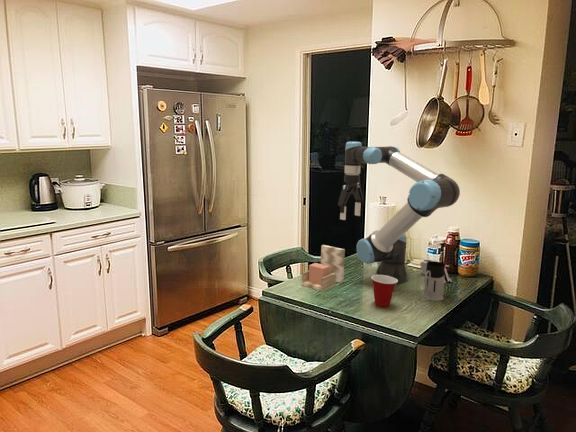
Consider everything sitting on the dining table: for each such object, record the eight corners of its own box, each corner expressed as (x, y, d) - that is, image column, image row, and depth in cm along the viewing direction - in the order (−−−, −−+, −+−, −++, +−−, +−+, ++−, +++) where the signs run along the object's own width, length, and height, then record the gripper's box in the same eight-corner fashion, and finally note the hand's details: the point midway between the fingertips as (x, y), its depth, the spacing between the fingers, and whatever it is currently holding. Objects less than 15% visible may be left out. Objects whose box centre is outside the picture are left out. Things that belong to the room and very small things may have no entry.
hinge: (452, 282, 222) (448, 264, 219) (444, 286, 221) (440, 268, 218) (429, 272, 237) (425, 255, 234) (421, 276, 236) (417, 258, 233)
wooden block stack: (343, 281, 220) (344, 249, 217) (323, 291, 207) (324, 256, 204) (322, 276, 228) (323, 244, 225) (301, 285, 215) (302, 251, 212)
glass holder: (446, 296, 204) (449, 263, 201) (433, 305, 193) (436, 271, 190) (427, 291, 209) (430, 259, 206) (413, 300, 199) (416, 266, 196)
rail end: (328, 282, 214) (329, 266, 212) (322, 285, 210) (323, 268, 209) (314, 279, 219) (315, 262, 217) (308, 281, 215) (309, 265, 214)
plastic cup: (401, 309, 189) (403, 281, 187) (377, 311, 186) (378, 283, 184) (388, 299, 199) (389, 272, 197) (365, 301, 196) (366, 274, 194)
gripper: (358, 171, 235) (356, 212, 239) (331, 175, 216) (329, 220, 220) (371, 172, 230) (369, 214, 234) (345, 176, 211) (343, 222, 215)
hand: (350, 217), depth 227 cm, fingers open, 13 cm apart
